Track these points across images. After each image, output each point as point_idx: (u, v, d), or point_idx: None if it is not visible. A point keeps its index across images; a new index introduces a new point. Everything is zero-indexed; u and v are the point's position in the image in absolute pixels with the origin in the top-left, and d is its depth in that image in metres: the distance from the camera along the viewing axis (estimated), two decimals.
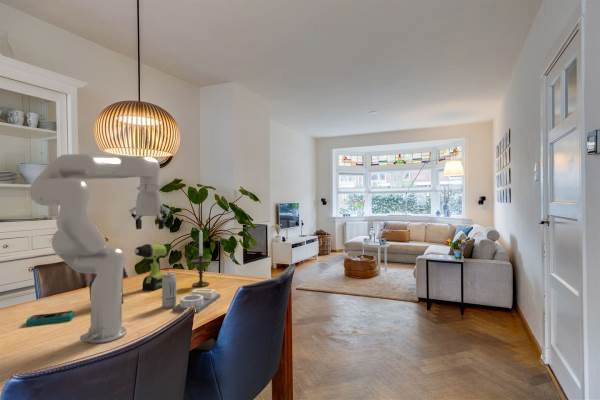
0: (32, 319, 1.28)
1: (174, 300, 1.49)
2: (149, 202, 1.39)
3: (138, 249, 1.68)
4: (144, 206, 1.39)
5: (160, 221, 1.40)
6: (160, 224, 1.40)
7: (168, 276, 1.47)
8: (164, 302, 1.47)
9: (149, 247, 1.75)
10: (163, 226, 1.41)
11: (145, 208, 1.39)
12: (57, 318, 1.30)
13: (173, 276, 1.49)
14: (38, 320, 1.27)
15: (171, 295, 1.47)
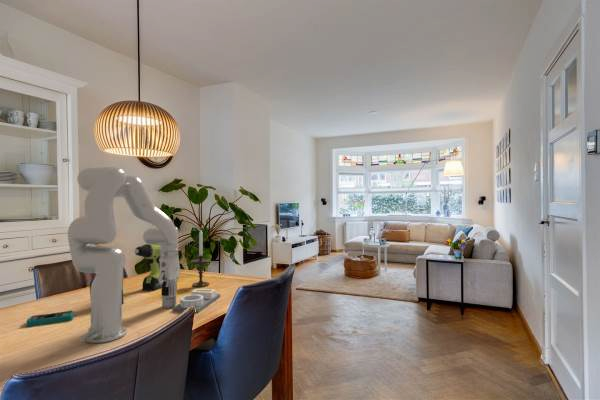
0: (32, 319, 1.28)
1: (174, 300, 1.49)
2: (176, 265, 1.50)
3: (138, 249, 1.68)
4: (173, 270, 1.48)
5: None
6: None
7: None
8: (164, 302, 1.47)
9: (149, 247, 1.75)
10: None
11: (174, 272, 1.49)
12: (57, 318, 1.30)
13: None
14: (39, 320, 1.27)
15: (171, 295, 1.47)
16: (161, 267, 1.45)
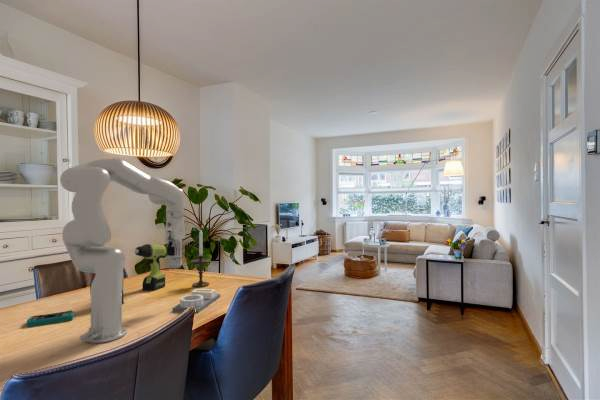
0: (32, 319, 1.27)
1: (180, 260, 1.50)
2: (182, 226, 1.52)
3: (138, 249, 1.68)
4: (179, 231, 1.50)
5: None
6: None
7: None
8: (170, 262, 1.49)
9: (149, 247, 1.75)
10: None
11: (180, 233, 1.51)
12: (58, 318, 1.30)
13: None
14: (39, 320, 1.27)
15: (176, 255, 1.49)
16: (167, 227, 1.47)
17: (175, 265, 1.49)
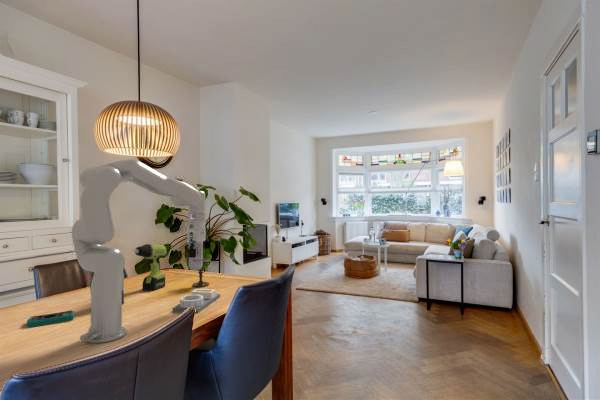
0: (33, 319, 1.27)
1: (200, 262, 1.51)
2: (203, 229, 1.53)
3: (138, 249, 1.68)
4: (200, 233, 1.51)
5: None
6: None
7: None
8: (191, 264, 1.49)
9: (149, 247, 1.75)
10: None
11: (201, 235, 1.51)
12: (59, 318, 1.30)
13: None
14: (40, 320, 1.27)
15: (198, 257, 1.50)
16: (189, 229, 1.48)
17: (196, 267, 1.49)
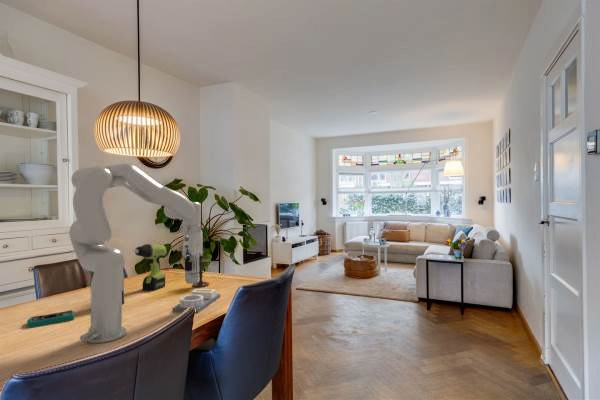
0: (33, 320, 1.27)
1: (197, 275, 1.47)
2: (199, 241, 1.49)
3: (138, 249, 1.68)
4: (196, 245, 1.47)
5: None
6: None
7: None
8: (187, 277, 1.45)
9: (149, 247, 1.75)
10: None
11: (197, 247, 1.47)
12: (60, 318, 1.30)
13: None
14: (41, 321, 1.26)
15: (194, 270, 1.46)
16: (184, 242, 1.44)
17: (192, 280, 1.45)
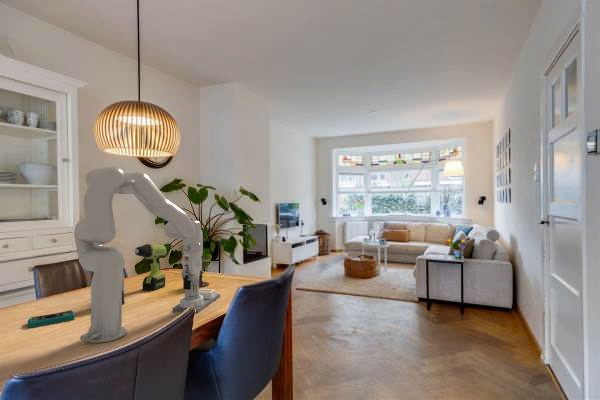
0: (33, 320, 1.26)
1: (197, 298, 1.47)
2: (199, 259, 1.49)
3: (138, 249, 1.68)
4: (196, 264, 1.47)
5: None
6: None
7: (191, 274, 1.45)
8: None
9: (149, 247, 1.75)
10: None
11: (197, 266, 1.47)
12: (60, 318, 1.30)
13: (196, 274, 1.46)
14: (42, 321, 1.26)
15: (194, 293, 1.45)
16: (184, 261, 1.43)
17: None
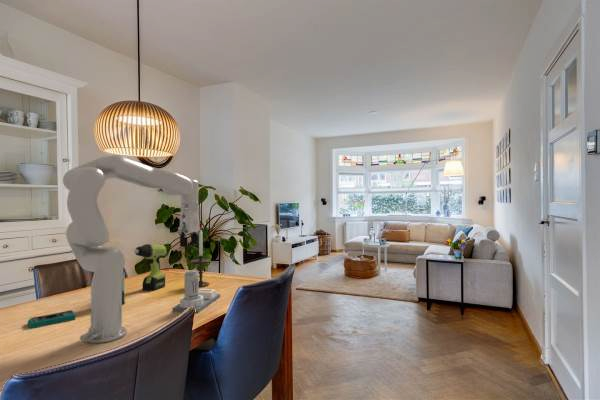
0: (34, 320, 1.26)
1: (196, 298, 1.47)
2: (196, 219, 1.49)
3: (138, 249, 1.68)
4: (194, 223, 1.47)
5: None
6: None
7: (191, 273, 1.45)
8: None
9: (149, 247, 1.75)
10: None
11: (194, 225, 1.47)
12: (61, 318, 1.30)
13: (195, 274, 1.47)
14: (43, 321, 1.26)
15: (193, 293, 1.45)
16: (182, 219, 1.43)
17: None
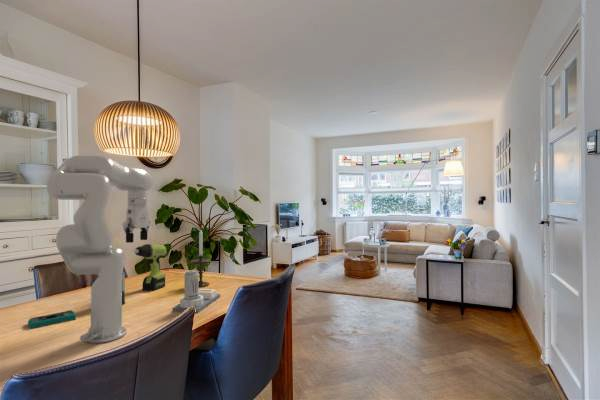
0: (35, 320, 1.26)
1: (196, 298, 1.47)
2: (144, 214, 1.47)
3: (138, 249, 1.68)
4: (141, 219, 1.44)
5: None
6: None
7: (191, 274, 1.45)
8: None
9: (149, 247, 1.75)
10: None
11: (142, 221, 1.45)
12: (62, 318, 1.30)
13: (195, 274, 1.47)
14: (43, 321, 1.26)
15: (193, 293, 1.45)
16: (127, 214, 1.41)
17: None
